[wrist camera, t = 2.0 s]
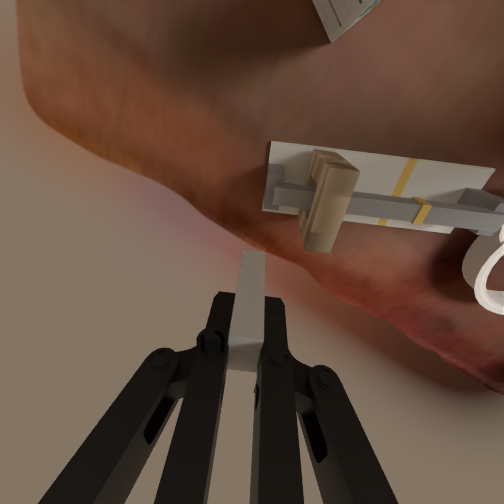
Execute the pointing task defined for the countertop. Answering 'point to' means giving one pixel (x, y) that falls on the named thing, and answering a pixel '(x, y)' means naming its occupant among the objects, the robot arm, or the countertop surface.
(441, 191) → the rail
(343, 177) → the tan flat block
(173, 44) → the countertop surface
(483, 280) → the pot
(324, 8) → the syrup box
